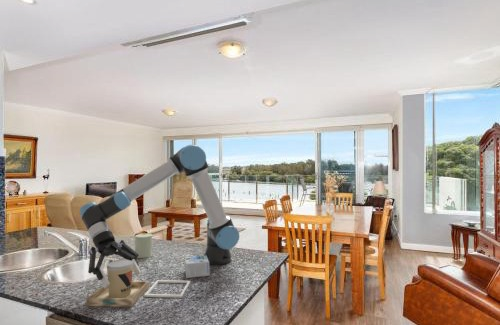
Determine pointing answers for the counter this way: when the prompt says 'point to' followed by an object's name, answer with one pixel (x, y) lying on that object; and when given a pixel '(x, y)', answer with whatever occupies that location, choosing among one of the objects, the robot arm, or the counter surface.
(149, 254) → the can
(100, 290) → the wooden tray
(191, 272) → the light bulb box
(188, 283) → the white flat square frame
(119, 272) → the coffee cup
